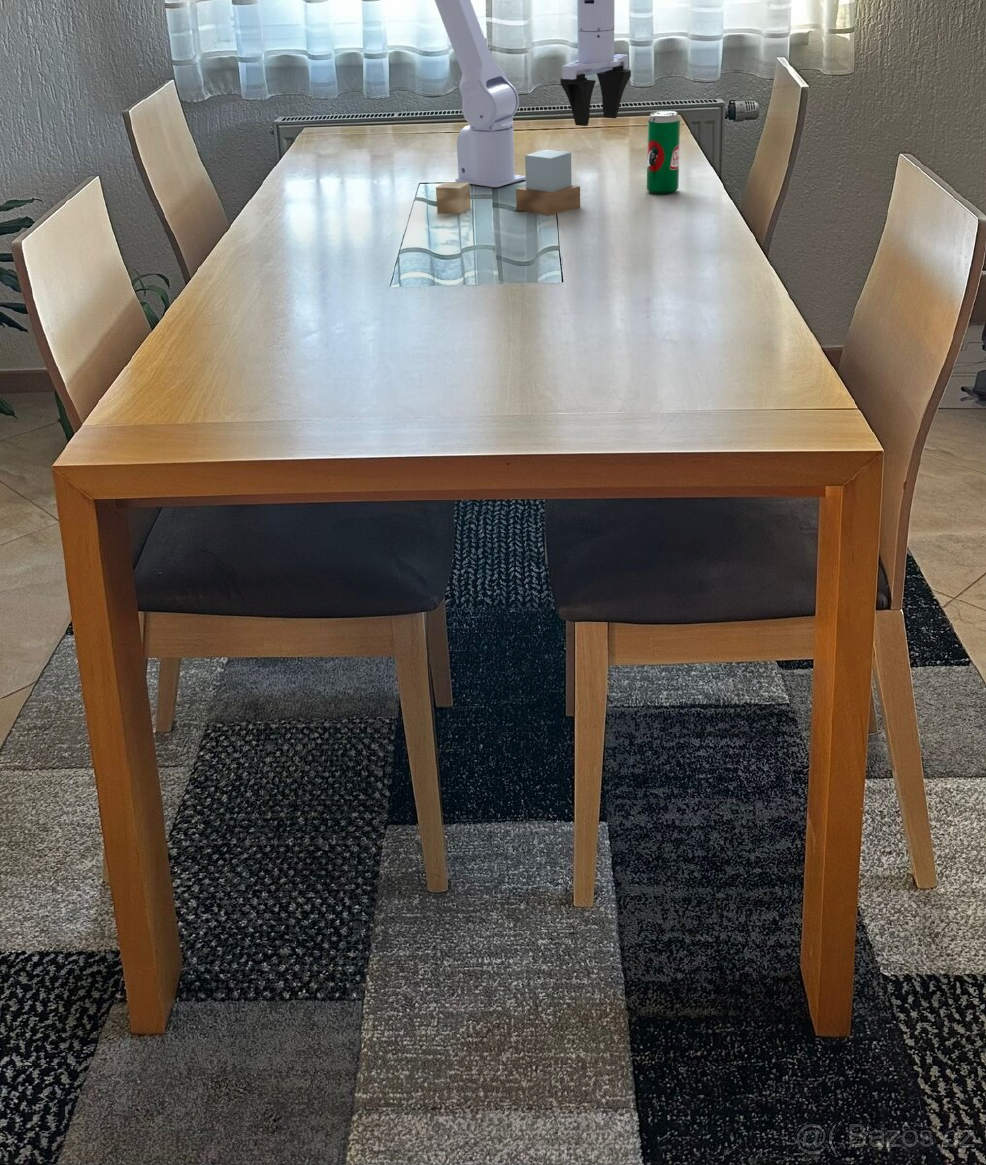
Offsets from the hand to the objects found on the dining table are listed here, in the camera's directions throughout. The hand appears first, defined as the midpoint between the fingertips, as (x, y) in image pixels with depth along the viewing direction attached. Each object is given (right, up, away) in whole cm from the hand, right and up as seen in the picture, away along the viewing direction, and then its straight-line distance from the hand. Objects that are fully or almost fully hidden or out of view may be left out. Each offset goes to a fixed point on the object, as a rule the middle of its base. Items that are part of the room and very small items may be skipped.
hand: (596, 121), depth 206 cm
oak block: (-23, -16, -5) cm, 28 cm away
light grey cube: (-8, -13, -8) cm, 17 cm away
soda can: (+11, -11, +1) cm, 16 cm away
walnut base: (-8, -16, -6) cm, 19 cm away
